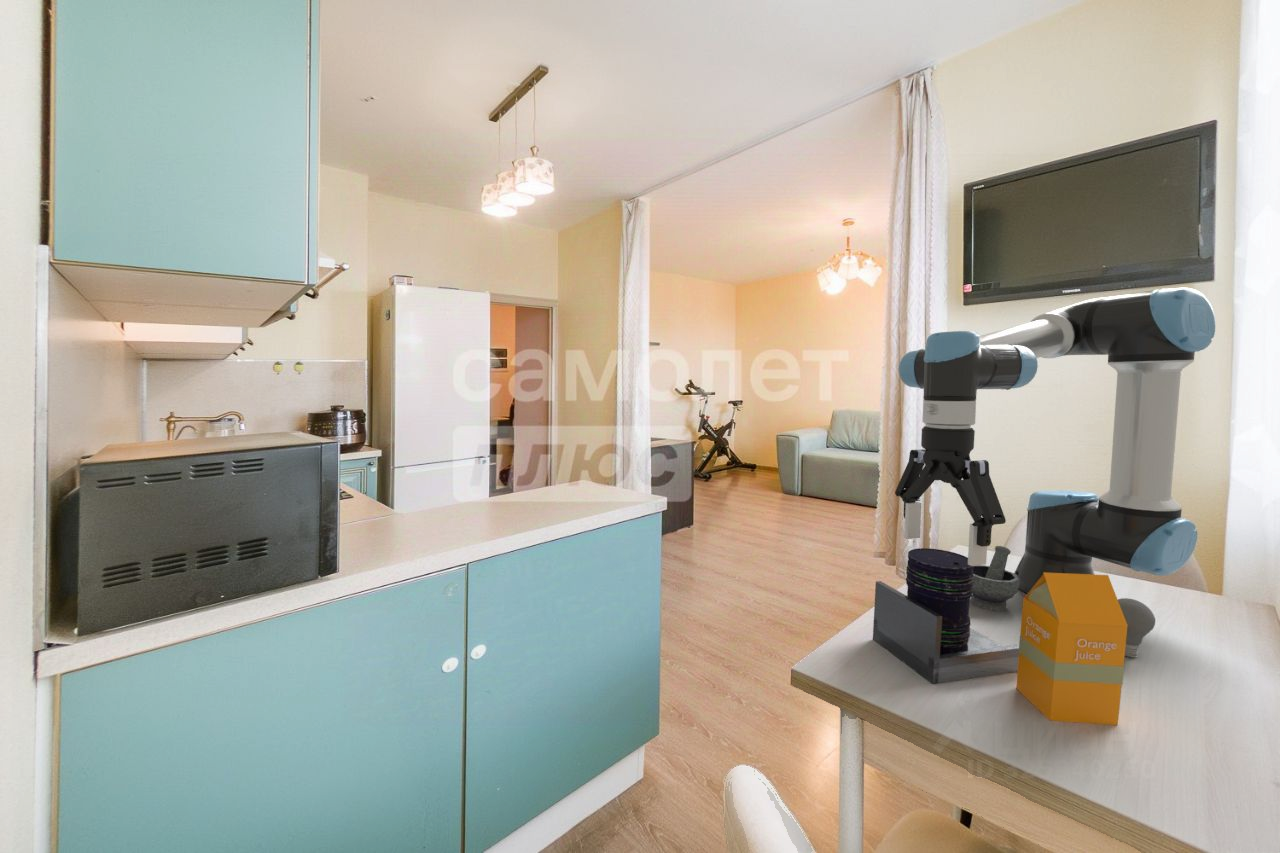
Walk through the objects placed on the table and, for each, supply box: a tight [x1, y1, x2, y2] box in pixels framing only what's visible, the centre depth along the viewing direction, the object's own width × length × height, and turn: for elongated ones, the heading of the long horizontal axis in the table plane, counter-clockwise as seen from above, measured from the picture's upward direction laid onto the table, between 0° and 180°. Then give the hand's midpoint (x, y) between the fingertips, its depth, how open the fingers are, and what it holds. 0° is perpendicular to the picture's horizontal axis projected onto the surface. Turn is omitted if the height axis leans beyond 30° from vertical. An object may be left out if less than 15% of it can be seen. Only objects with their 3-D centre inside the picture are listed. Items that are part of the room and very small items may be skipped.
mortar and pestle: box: [970, 545, 1019, 612], centre depth 107 cm, size 11×9×12 cm
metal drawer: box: [872, 580, 1019, 685], centre depth 87 cm, size 17×14×11 cm
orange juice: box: [1015, 572, 1128, 726], centre depth 73 cm, size 8×9×20 cm
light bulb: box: [1117, 597, 1156, 658], centre depth 87 cm, size 6×6×10 cm
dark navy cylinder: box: [905, 547, 974, 655], centre depth 86 cm, size 10×10×15 cm
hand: (942, 550), depth 85 cm, fingers open, 13 cm apart
